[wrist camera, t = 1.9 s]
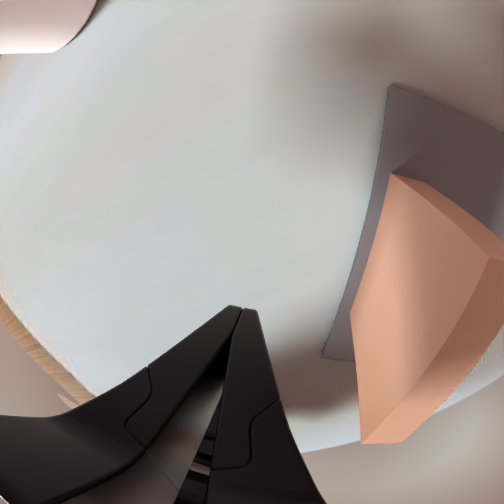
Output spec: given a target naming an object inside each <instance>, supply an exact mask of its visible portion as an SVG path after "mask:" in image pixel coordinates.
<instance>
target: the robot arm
mask: <svg viewBox="0 0 504 504" xmlns="http://www.w3.org/2000/svg"><path fill="white" fill-rule="evenodd" d="M0 504H327V503H326V502H325V500H324V499H323V497H322V496H321V494H320V492H319V491H318V489H317V487H316V485H315V483H314V481H313V479H312V477H311V475H310V473H309V471H308V469H307V466H306V464H305V462H304V460H303V458H302V456H301V454H300V452H299V449H298V447H297V445H296V443H295V440H294V438H293V435H292V433H291V430H290V428H289V424H288V421H287V418H286V415H285V412H284V408H283V405H282V401H281V400H280V394H279V391H278V387H277V383H276V380H275V376H274V372H273V368H272V365H271V361H270V357H269V354H268V350H267V346H266V342H265V339H264V335H263V331H262V327H261V323H260V320H259V316H258V312H257V311H256V310H253V309H248V308H244V309H242V308H241V307H238V306H233V305H229V306H227V307H226V308H224V309H223V310H222V311H220V312H219V313H218V314H216V315H215V316H214V317H212V318H211V319H210V320H209V321H207V322H206V323H205V324H203V325H202V326H201V327H199V328H198V329H197V330H195V331H194V332H193V333H191V334H190V335H188V336H187V337H186V338H184V339H183V340H182V341H180V342H179V343H178V344H176V345H175V346H174V347H172V348H171V349H170V350H168V351H167V352H165V353H164V354H163V355H161V356H160V357H159V358H157V359H156V360H154V361H153V362H152V363H150V364H149V365H148V368H147V367H145V368H143V369H142V370H140V371H139V372H138V373H136V374H135V375H133V376H132V377H130V378H129V379H127V380H126V381H124V382H123V383H121V384H119V385H118V386H116V387H114V388H112V389H111V390H109V391H107V392H105V393H103V394H101V395H100V396H98V397H96V398H94V399H92V400H90V401H88V402H86V403H84V404H82V405H80V406H78V407H76V408H74V409H72V410H70V411H68V412H66V413H63V414H60V415H56V416H52V417H19V416H6V415H5V416H4V415H0Z"/></svg>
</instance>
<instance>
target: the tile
mask: <svg viewBox="0 0 504 504" xmlns="http://www.w3.org/2000/svg"><path fill="white" fill-rule="evenodd" d="M349 314H350V321H351V328H352V336H353V344H354V352H355V362H356V372H357V383H358V396H359V411H360V434H361V444H382V443H400V442H402V441H403V440H404V439H406V438H407V437H408V436H409V435H410V434H411V433H412V432H414V431H415V430H416V429H417V428H418V427H419V426H420V425H421V424H422V423H423V422H424V421H425V420H426V419H427V418H429V417H430V416H431V415H432V414H433V413H434V412H435V411H436V410H437V409H438V408H439V406H440V405H441V404H442V403H443V402H444V401H445V400H446V399H447V398H448V397H449V396H450V395H451V394H452V392H453V391H454V390H455V389H456V388H457V387H458V386H459V384H460V383H461V382H462V381H463V380H464V378H465V377H466V376H467V375H468V373H469V372H470V371H471V370H472V368H473V367H474V366H475V365H476V363H477V362H478V361H479V359H480V358H481V356H482V355H483V354H484V352H485V351H486V350H487V348H488V347H489V345H490V344H491V342H492V341H493V339H494V338H495V336H496V335H497V333H498V332H499V330H500V328H501V327H502V325H503V324H504V242H503V241H502V240H501V239H500V238H499V237H497V236H496V235H495V234H494V233H493V232H491V231H490V230H489V229H488V228H487V227H485V226H484V225H483V224H482V223H480V222H479V221H478V220H477V219H475V218H474V217H473V216H472V215H470V214H469V213H468V212H466V211H465V210H464V209H462V208H461V207H460V206H458V205H457V204H455V203H454V202H453V201H451V200H450V199H448V198H447V197H445V196H444V195H443V194H441V193H440V192H438V191H437V190H435V189H434V188H432V187H431V186H429V185H428V184H426V183H424V182H422V181H418V180H415V179H411V178H408V177H404V176H400V175H396V174H393V173H390V178H389V182H388V187H387V191H386V196H385V200H384V204H383V208H382V212H381V216H380V220H379V224H378V227H377V231H376V234H375V238H374V241H373V245H372V248H371V252H370V255H369V258H368V261H367V265H366V268H365V271H364V274H363V277H362V280H361V283H360V286H359V289H358V291H357V294H356V297H355V300H354V303H353V305H352V308H351V311H350V313H349Z"/></svg>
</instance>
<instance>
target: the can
mask: <svg viewBox="0 0 504 504" xmlns="http://www.w3.org/2000/svg"><path fill="white" fill-rule="evenodd" d="M96 3H97V0H0V54H11V53H51V52H54V51H57V50H59V49H60V48H62V47H63V46H64V45H66V44H67V43H69V42H70V41H71V40H72V39H73V38H74V37H75V36H76V35H77V34H78V33H79V32H80V31H81V29H82V28H83V27H84V25H85V24H86V23H87V21H88V20H89V18H90V16H91V14H92V12H93V10H94V8H95V6H96Z"/></svg>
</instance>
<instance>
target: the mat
mask: <svg viewBox="0 0 504 504" xmlns="http://www.w3.org/2000/svg"><path fill="white" fill-rule="evenodd" d="M390 173H393V174H396V175H400V176H404V177H408V178H411V179H415V180H418V181H422V182H424V183H426V184H428V185H429V186H431V187H432V188H434V189H435V190H437V191H438V192H440V193H441V194H443V195H444V196H445V197H447V198H448V199H450V200H451V201H453V202H454V203H455V204H457V205H458V206H460V207H461V208H462V209H464V210H465V211H466V212H468V213H469V214H470V215H472V216H473V217H474V218H475V219H477V220H478V221H479V222H480V223H482V224H483V225H484V226H485V227H487V228H488V229H489V230H490V231H491V232H493V233H494V234H495V235H496V236H497V237H499V238H500V239H501V240H502V241H503V242H504V134H503V133H501V132H499V131H497V130H496V129H494V128H492V127H490V126H488V125H487V124H485V123H483V122H481V121H479V120H477V119H475V118H473V117H471V116H469V115H467V114H465V113H462V112H460V111H458V110H456V109H453V108H451V107H449V106H447V105H444V104H442V103H439V102H437V101H434V100H432V99H429V98H426V97H424V96H421V95H418V94H415V93H412V92H409V91H406V90H403V89H400V88H397V87H394V86H389V87H388V95H387V104H386V112H385V120H384V127H383V133H382V140H381V146H380V152H379V157H378V163H377V168H376V173H375V178H374V183H373V188H372V192H371V197H370V201H369V206H368V210H367V214H366V218H365V222H364V226H363V230H362V234H361V237H360V241H359V245H358V248H357V252H356V256H355V259H354V262H353V266H352V269H351V272H350V276H349V279H348V282H347V285H346V288H345V291H344V295H343V298H342V301H341V304H340V306H339V309H338V312H337V315H336V318H335V321H334V323H333V326H332V329H331V332H330V334H329V337H328V340H327V342H326V345H325V347H324V350H323V353H322V358H328V359H336V360H345V361H355V352H354V344H353V336H352V328H351V321H350V314H349V313H350V311H351V308H352V305H353V303H354V300H355V297H356V294H357V291H358V289H359V286H360V283H361V280H362V277H363V274H364V271H365V268H366V265H367V261H368V258H369V255H370V252H371V248H372V245H373V241H374V238H375V234H376V231H377V227H378V224H379V220H380V216H381V212H382V208H383V204H384V200H385V196H386V191H387V187H388V182H389V178H390Z"/></svg>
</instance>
